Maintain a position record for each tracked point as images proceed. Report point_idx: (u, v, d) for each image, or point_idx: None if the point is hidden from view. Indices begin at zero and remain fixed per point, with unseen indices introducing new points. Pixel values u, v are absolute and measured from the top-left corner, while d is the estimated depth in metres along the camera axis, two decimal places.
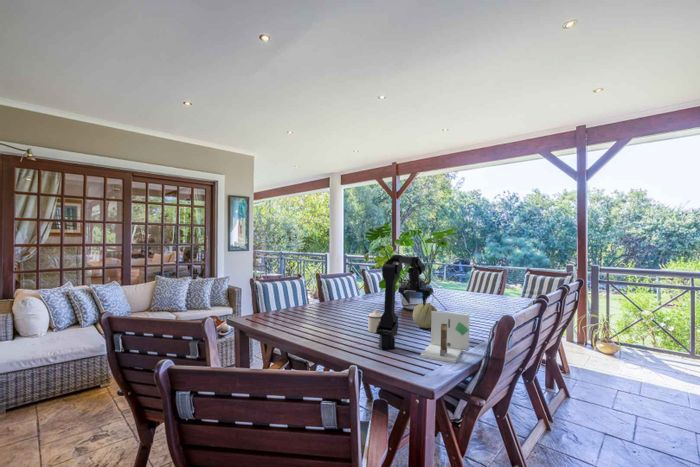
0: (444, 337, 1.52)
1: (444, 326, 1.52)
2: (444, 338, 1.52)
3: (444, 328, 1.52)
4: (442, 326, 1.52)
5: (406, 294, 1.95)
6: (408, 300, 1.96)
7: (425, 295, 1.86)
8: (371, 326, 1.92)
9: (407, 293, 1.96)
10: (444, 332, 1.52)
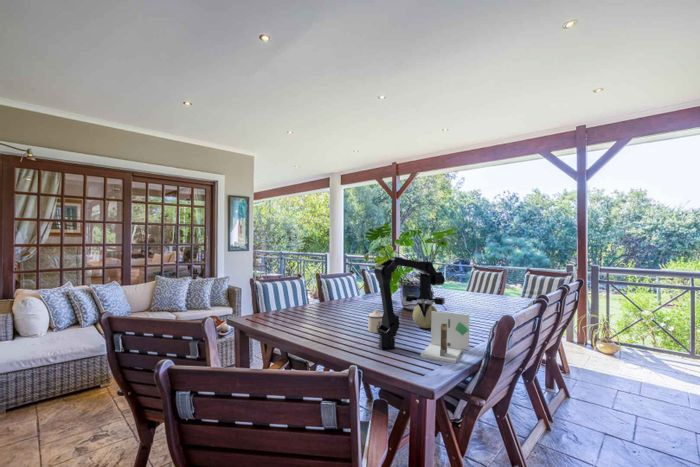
0: (444, 337, 1.52)
1: (444, 326, 1.52)
2: (444, 338, 1.52)
3: (444, 328, 1.52)
4: (442, 326, 1.52)
5: (423, 305, 1.75)
6: None
7: (437, 304, 1.70)
8: (371, 326, 1.92)
9: (423, 304, 1.76)
10: (444, 332, 1.52)
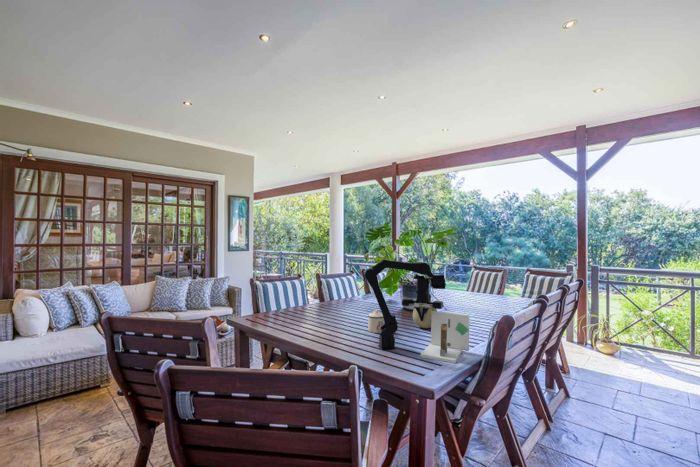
0: (444, 337, 1.52)
1: (444, 326, 1.52)
2: (444, 338, 1.52)
3: (444, 328, 1.52)
4: (442, 326, 1.52)
5: (420, 309, 1.64)
6: None
7: (435, 308, 1.59)
8: (371, 326, 1.92)
9: (421, 308, 1.66)
10: (444, 332, 1.52)
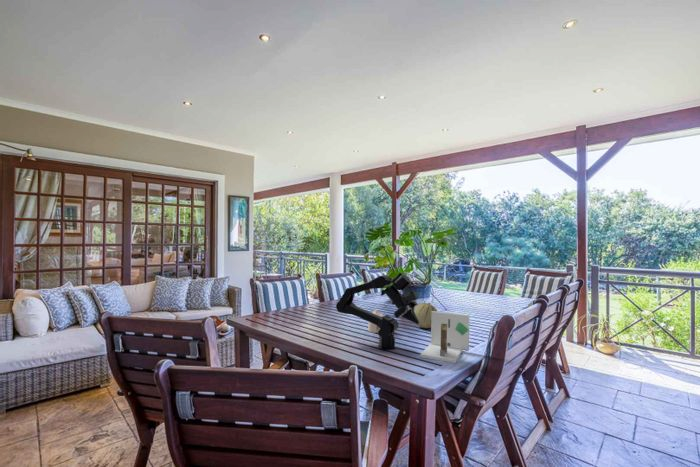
0: (444, 337, 1.52)
1: (444, 326, 1.52)
2: (444, 338, 1.52)
3: (444, 328, 1.52)
4: (442, 326, 1.52)
5: None
6: None
7: None
8: (371, 326, 1.92)
9: None
10: (444, 332, 1.52)
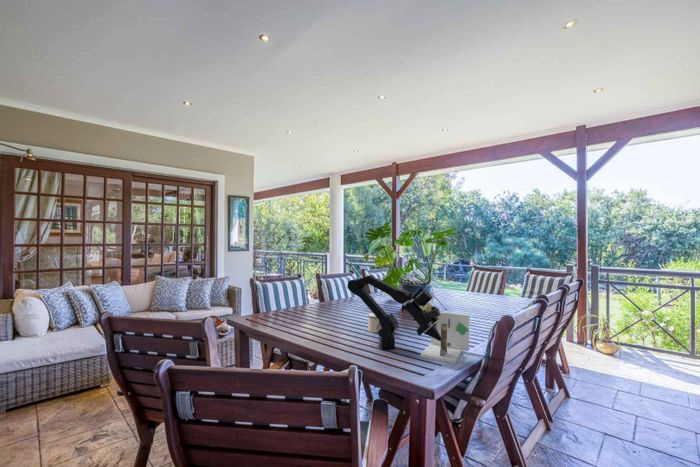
0: (444, 337, 1.52)
1: (444, 326, 1.52)
2: (444, 338, 1.52)
3: (444, 328, 1.52)
4: (442, 326, 1.52)
5: None
6: None
7: None
8: (371, 326, 1.92)
9: None
10: (444, 332, 1.52)
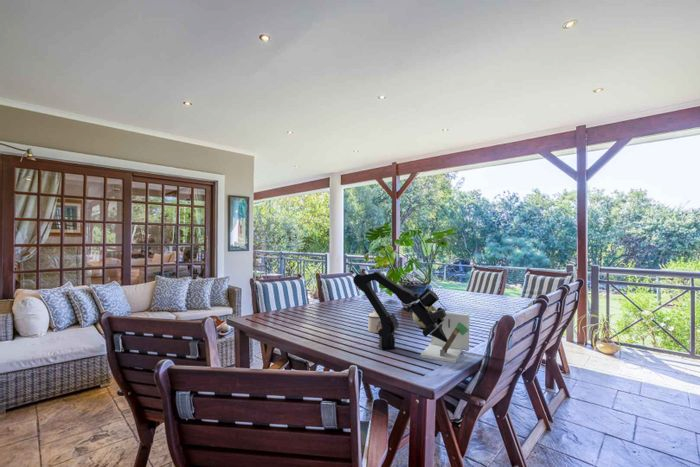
0: (451, 341, 1.51)
1: (457, 332, 1.50)
2: (451, 341, 1.51)
3: (456, 333, 1.50)
4: (455, 331, 1.50)
5: None
6: None
7: None
8: (371, 326, 1.92)
9: None
10: (454, 336, 1.50)
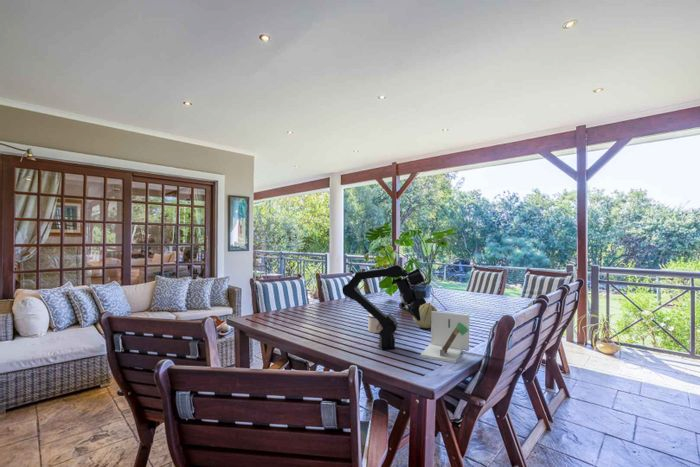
0: (451, 341, 1.51)
1: (457, 332, 1.50)
2: (451, 341, 1.51)
3: (456, 333, 1.50)
4: (455, 331, 1.50)
5: None
6: None
7: (413, 307, 1.55)
8: (371, 326, 1.92)
9: None
10: (454, 337, 1.50)
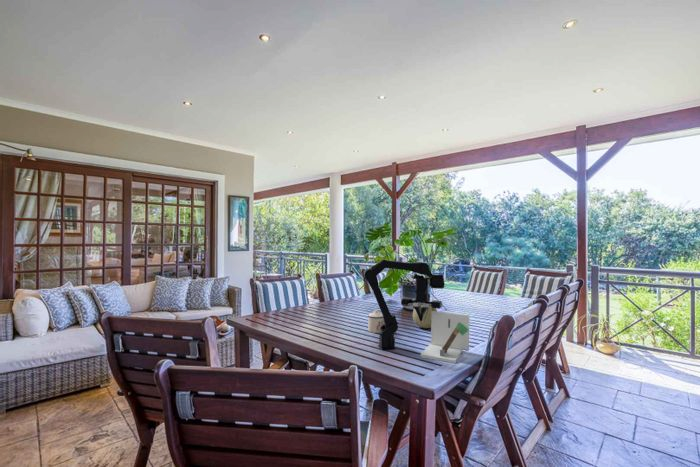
0: (451, 341, 1.51)
1: (457, 332, 1.50)
2: (451, 341, 1.51)
3: (456, 333, 1.50)
4: (455, 331, 1.50)
5: (419, 308, 1.65)
6: None
7: (434, 307, 1.60)
8: (371, 326, 1.92)
9: (420, 308, 1.67)
10: (454, 337, 1.50)
